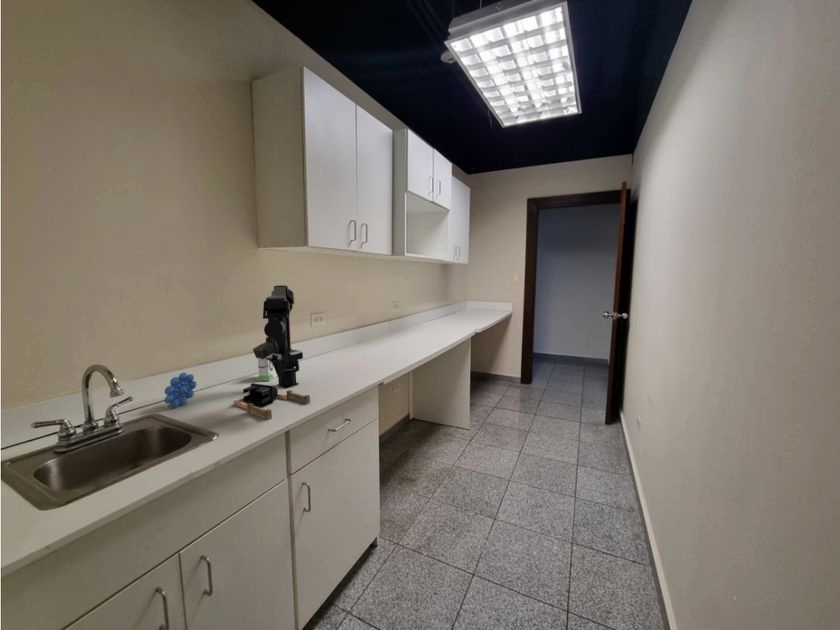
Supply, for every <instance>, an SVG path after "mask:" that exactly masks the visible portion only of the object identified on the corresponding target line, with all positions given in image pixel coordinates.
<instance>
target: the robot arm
mask: <svg viewBox="0 0 840 630" xmlns="http://www.w3.org/2000/svg"><path fill="white" fill-rule="evenodd" d="M294 305H295V295H294V291H292V290H291V289H290V288H289V287H288V285H284V284H283V285H280V284H279V285H274V286H273V290H272V291H271V295H270V296H267V297H266V298H265V301H263V309H262V319H264V320H265V319H267V323H266V324H265V326H264V327H263V328H264V329H263V331H264V334H265V336H266V338H265V341H264V342H262V343H261V344H259V345H257V346H255V347H254V348H253V349H252V351H253V353H254V356H255V358H256V359H258V358H261V359H265V358H266V360H269V361H270V362H271V363H272V364H273V366H274V368H275V371H276V373H277V378H278V379H277V380H278V383H277V384H276V386H277V387H281V388H285V389H288V388H292V387H294V386H298V385H299V384H300V383H299V382H297V372H298V371H300V363H299V360H302V359H304V353H303V351H302V350H297V349H293V348H292V344H291V343H292V341H291V338H292V337H291V324H290V323H291V322H290V321H291V320H290V314H291V312H292V310H293V309H294ZM267 356H268V358H267Z"/></svg>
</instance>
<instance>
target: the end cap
mask: <svg viewBox="0 0 840 630" xmlns="http://www.w3.org/2000/svg"><path fill="white" fill-rule="evenodd" d="M278 390H279V389H278V388H277V387H276V386H275V385H269V384H264V383H263V384H260V383H253V382H252V383H250V386H248V387H246V388H243V389H242V394H246V393H248V392H249V394H246V395H245V396H243V398H244V401H245V402H244V403H247V404H250V403H252V404H253V406H256V407H259V408H265V407H266V408H267V406H270V405H272V404H273V403H274V402H275V401H276V399H278V398H277V395H278V393H279V391H278Z"/></svg>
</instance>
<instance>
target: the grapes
mask: <svg viewBox="0 0 840 630" xmlns="http://www.w3.org/2000/svg"><path fill="white" fill-rule="evenodd" d="M194 379H195V375H193V374H187V372H181V373H180V374H179V375H178V377H177V376H174V377H172V378H171V379H170V381H169V384H170V385H168V386H166V388H165V389H164V394H165V395H166V396H165V398H164V403H165V404H168V405H169V406H170V408H172V409H174V408H177V407H178V406H180V407H182V406H185V405H186V404H187V403H188V399H191V398H193V397H194V395H195V391H194V389H195V388H196V387H197V382H196V381H195V380H194Z"/></svg>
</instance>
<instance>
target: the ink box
mask: <svg viewBox="0 0 840 630" xmlns="http://www.w3.org/2000/svg"><path fill="white" fill-rule="evenodd" d="M267 358H268V356H267ZM257 365H258V366H257V367H258V380H259V381H260V382H270V381H273V380H274V379H276V378H278V376H277V373H276V371H275V368H274V366H273V364H272V363H271V362H270V361H269V360H266V358H265V359H261V358H257Z"/></svg>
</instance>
